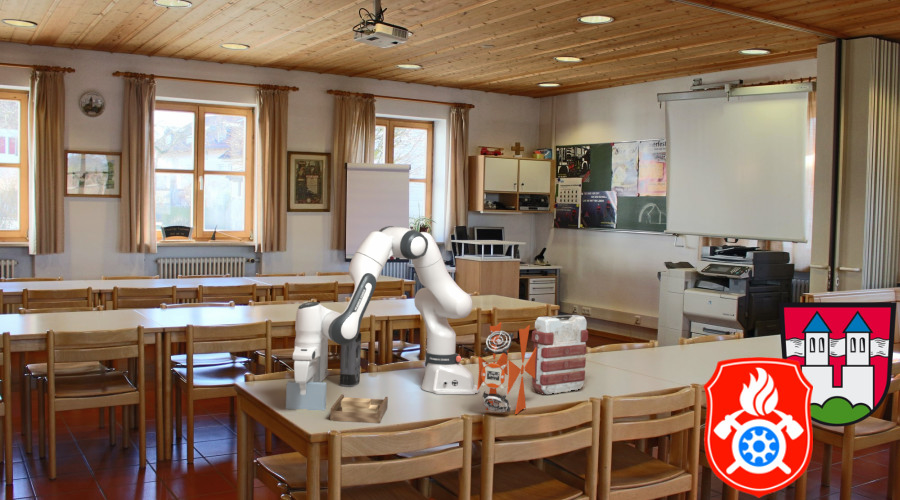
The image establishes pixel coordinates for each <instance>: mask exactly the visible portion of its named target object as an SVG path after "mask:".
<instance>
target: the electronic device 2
mask: <svg viewBox="0 0 900 500" xmlns="http://www.w3.org/2000/svg"><path fill="white" fill-rule="evenodd" d="M530 327H531V325H530V324H529V325H527V326H526V327H525V328H518V333H519V343H520V346H519V347H520V353H521V363H522V364H521V367H519V366H517V364H515V363H514V362H513V361H511V360H510V359H508V357H509V349H510V347H511V346H512V339H513V338H514V333H513V332H511V333H508V332H506V331H504V330H501V328H502V321H500V322H499V323H498V324H496V325H489V333H490V334H489V335H488V336H487V338H486V341H485V343H486V344H485V345H486V347H484V348H483V349H484V352H485V353H486V354H488V352H489V353H490V352H491V354H492V357H493V358H492V359H493V360H494V361H493V362H490V363H489V362H488V361H486V360H485V359H484V358H482V357H480V356H478V378H477V379H478V380H477V391H478V389H479V390H480V387H481V388H482V387H484V386H487V387H488V388H489V391H488V392H489V393H486V391H484V392H483V393H482V398H483V399H484V400H483V405H484V406H485V407H486V409H485V411H486V410H487V411H489V410H490V411H492V412H496V413H504V412H507V413H510V411H511V406H510V403H509V400H508V399H507V395H509V393H510V391H511V390H512V388H513V387H514V384H515V383H516V381H517V378H518V377H519V376H520V375H522V376H521V378H520V384H519V388H518V389H519V390H518V395H517V401H516V405H515V407H516V408H515V412H514V415H515V414H517V415H518V414H519V413H520V412H521V411H522V409H524V408H526V409H527V404H526V394H525V384H524V376H523V374H524V371H525V372H526V373H527V374H528V375H530V376H531V377H533V378H534V379H535V358H536V349H537V347H536V348H535V350H534V349H533V351H532V353H531V355H530V357H529V358H528V360H527V361H526V364H525V365H524V362H525V357H526V351H527V347H528V346H527V345H528V339H529V332H530ZM504 336H505V339H506V340H505V341H504V338H503V337H504ZM508 338H509V340H508ZM490 341H491V342H490ZM489 345H490V346H491V347H489ZM502 347H503V348H502ZM498 354H501V355H500V356H499V358H498V359H497V362H496V361H495V360H496V356H497V355H498ZM506 376H508V380H507V386H504V385H503V384H504V383H505V379H506ZM498 388H500V389H502V390H505V388H507V390H506V391H507V393H505V394H504V395H501V394H499V393H497V389H498ZM488 409H489V410H488ZM524 410H525V409H524Z"/></svg>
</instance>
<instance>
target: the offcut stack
mask: <svg viewBox="0 0 900 500" xmlns="http://www.w3.org/2000/svg"><path fill="white" fill-rule="evenodd" d="M371 399H372V398H365V397H364V398H363V397H362V398H361V397H346V396H344V398H343V399H342V401H341V407H342V409H340V410H339V411H345V412H364V413H378V405H371Z"/></svg>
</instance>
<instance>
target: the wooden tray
mask: <svg viewBox="0 0 900 500" xmlns="http://www.w3.org/2000/svg"><path fill="white" fill-rule="evenodd" d="M344 397H345V394H344V393H343V394H341V395H340V396H339V397H338V399H337V400H336V401H335V403H333V405H332V406H331V408H330V415H329V416H330V419H329V420H333V422H347V421H350V423H369V424H381V422H382V420H383V418H384V416H385V414H386V412H387V410H388V407H389V406H388V404H389V403H388V400H389V397H388V396H385V397H384V398H383V399H382V398H380V399H379V398H370V399H371V405H378V413H364V412H345V411H339V410H340V409H342V407H341V401H342V399H343V398H344Z"/></svg>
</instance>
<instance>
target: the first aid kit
mask: <svg viewBox="0 0 900 500" xmlns="http://www.w3.org/2000/svg"><path fill="white" fill-rule="evenodd" d="M587 323H588V322H587V319H586V317H585V316H584V315H578V314H559V315H550V316H538V317H537V318H536V320H535V322H534V330H533V331H531V332H532V333H531V341H532V342H533V351H534V350H535V348H536V347H537V349H536V358H535V379H534V378H533V377H532V376H531V377H532V380H531V383H532V384H531V387H532V388H533V389H534V391H535V392H536V393H538V392H539V393H538V394H540V393H543V394H542V395H545V394H546V395H551V394H552V393H554V394H557V393H558V392H565V391H569V392H572V391H571V390H575V391H578V390H577V389H580V390H581V388H582V387H583V385H584V384H585V383H584V381H585V379H586V371H585V368H586V362H587V361H586V360H587V359H586V353H587V343H586V342H587V341H588V340H589V331H588V330H587ZM552 395H553V394H552Z"/></svg>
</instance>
